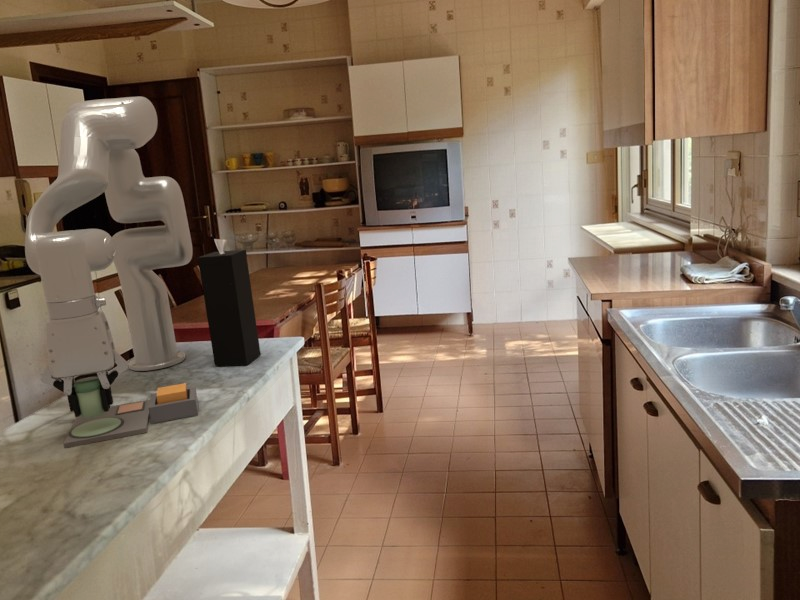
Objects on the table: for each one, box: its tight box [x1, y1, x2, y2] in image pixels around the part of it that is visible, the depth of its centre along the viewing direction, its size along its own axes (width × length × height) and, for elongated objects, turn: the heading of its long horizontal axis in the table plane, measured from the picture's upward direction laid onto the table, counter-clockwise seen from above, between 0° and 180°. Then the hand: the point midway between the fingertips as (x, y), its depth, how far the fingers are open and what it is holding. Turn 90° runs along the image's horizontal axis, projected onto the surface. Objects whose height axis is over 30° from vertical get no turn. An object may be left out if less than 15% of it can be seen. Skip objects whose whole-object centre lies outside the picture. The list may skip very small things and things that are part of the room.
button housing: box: [148, 386, 199, 425], centre depth 125 cm, size 8×8×3 cm
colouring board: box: [63, 399, 150, 449], centre depth 123 cm, size 16×13×1 cm
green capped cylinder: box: [74, 376, 105, 418], centre depth 118 cm, size 4×4×6 cm
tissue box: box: [197, 238, 261, 367], centre depth 153 cm, size 8×8×28 cm
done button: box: [156, 382, 188, 404], centre depth 125 cm, size 5×5×2 cm
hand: (92, 410), depth 118 cm, fingers closed on green capped cylinder, 4 cm apart
